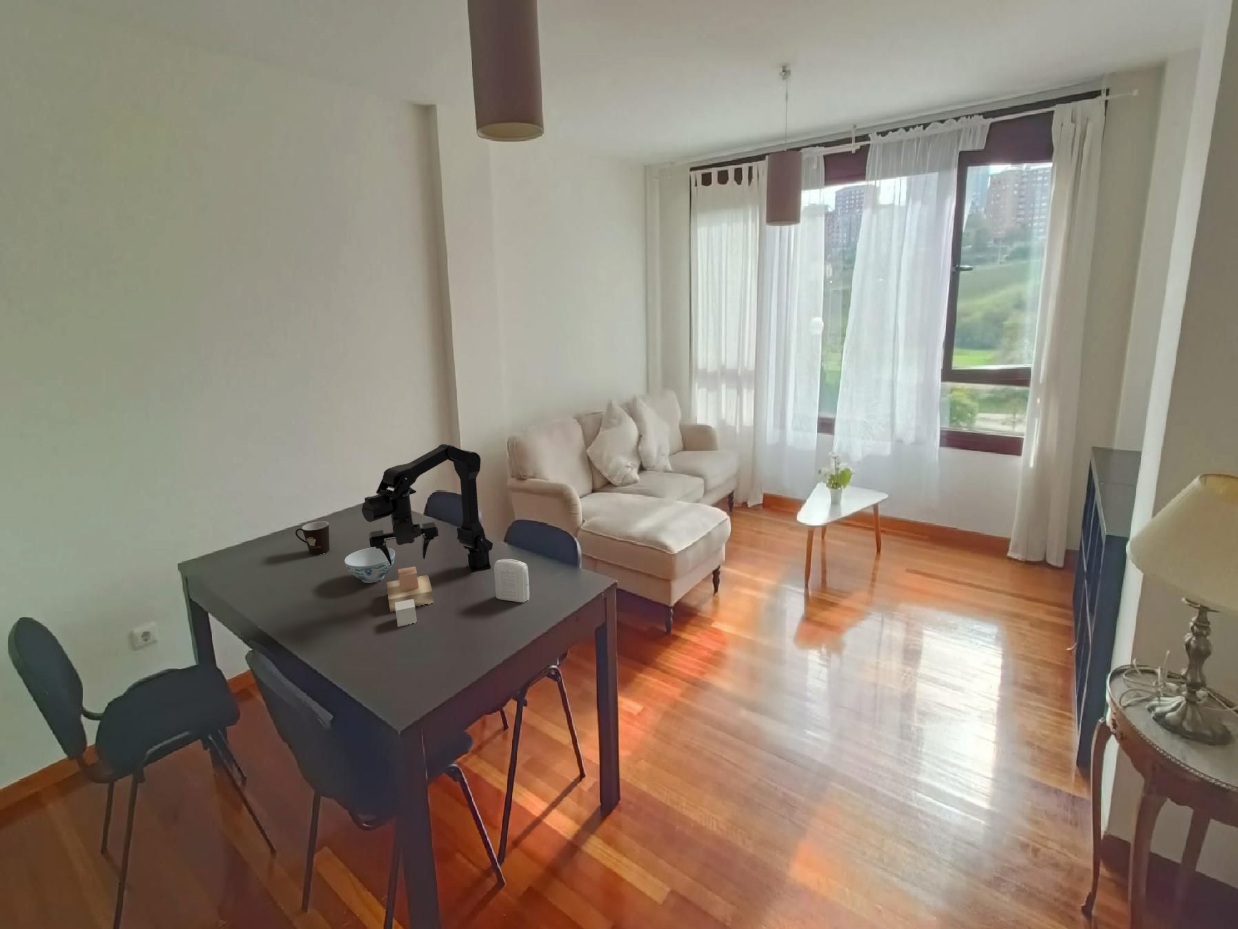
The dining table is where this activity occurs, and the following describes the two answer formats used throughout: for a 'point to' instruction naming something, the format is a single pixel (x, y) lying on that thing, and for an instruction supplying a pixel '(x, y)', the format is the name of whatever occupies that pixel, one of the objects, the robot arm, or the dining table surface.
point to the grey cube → (405, 612)
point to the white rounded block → (511, 580)
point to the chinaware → (369, 564)
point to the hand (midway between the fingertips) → (407, 561)
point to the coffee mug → (316, 537)
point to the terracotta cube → (408, 578)
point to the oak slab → (410, 593)
